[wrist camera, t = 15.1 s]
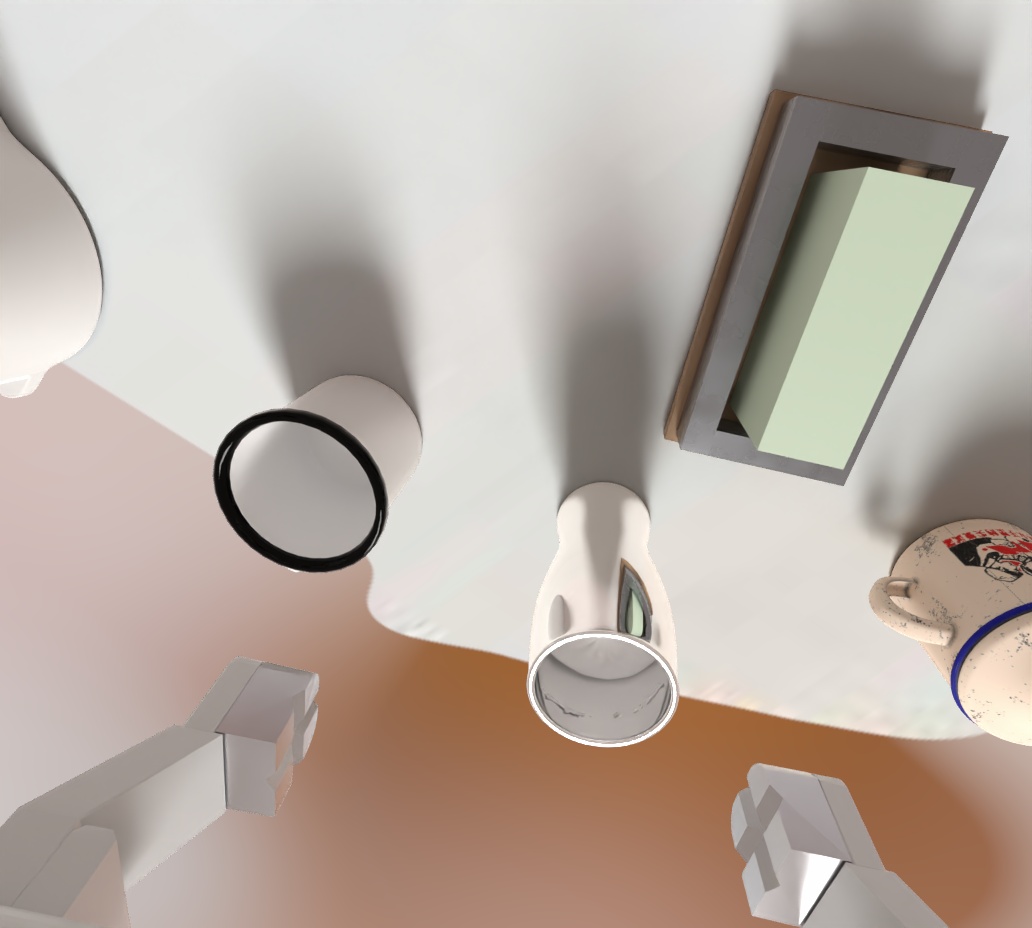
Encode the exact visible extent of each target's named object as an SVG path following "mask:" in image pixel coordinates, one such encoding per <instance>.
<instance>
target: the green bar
mask: <svg viewBox="0 0 1032 928" xmlns="http://www.w3.org/2000/svg"><path fill="white" fill-rule="evenodd" d="M974 189H975V188H972V187H967V186H962V185H957V184H952V183H947V182H942V181H937V180H932V179H927V178H922V177H917V176H912V175H907V174H902V173H897V172H892V171H887V170H882V169H877V168H872V167H863V168H855V169H847V170H839V171H831V172H822V173H814V174H811V177H810V179H809V182H808V185H807V188H806V191H805V193H804V196H803V199H802V202H801V205H800V207H799V210H798V213H797V216H796V219H795V221H794V224H793V227H792V230H791V232H790V235H789V238H788V241H787V244H786V246H785V249H784V252H783V255H782V258H781V260H780V263H779V266H778V269H777V272H776V274H775V277H774V280H773V283H772V286H771V288H770V291H769V294H768V297H767V300H766V302H765V305H764V308H763V311H762V313H761V316H760V319H759V322H758V325H757V327H756V330H755V333H754V336H753V339H752V341H751V344H750V347H749V350H748V353H747V355H746V358H745V361H744V364H743V367H742V369H741V372H740V375H739V378H738V381H737V383H736V386H735V389H734V392H733V394H732V397H731V400H730V403H729V404H730V406H731V407H732V409H733V411H734V412H735V414H736V416H737V417H738V419H739V421H740V422H741V424H742V426H743V427H744V429H745V431H746V432H747V434H748V436H749V437H750V439H751V441H752V442H753V444H754V446H755V447H756V449H757V450H758V451H763V452H767V453H771V454H776V455H780V456H785V457H789V458H794V459H798V460H803V461H807V462H812V463H816V464H821V465H825V466H829V467H834V468H838V469H844V467H845V465H846V463H847V461H848V459H849V456H850V454H851V452H852V450H853V448H854V446H855V444H856V442H857V439H858V437H859V435H860V433H861V431H862V429H863V427H864V424H865V422H866V420H867V418H868V416H869V414H870V412H871V409H872V407H873V405H874V403H875V401H876V399H877V397H878V394H879V392H880V390H881V388H882V386H883V384H884V382H885V379H886V377H887V375H888V373H889V371H890V369H891V367H892V364H893V362H894V360H895V358H896V356H897V354H898V352H899V350H900V347H901V345H902V343H903V341H904V339H905V337H906V335H907V332H908V330H909V328H910V326H911V324H912V322H913V320H914V317H915V315H916V313H917V311H918V309H919V307H920V305H921V302H922V300H923V298H924V296H925V294H926V292H927V290H928V287H929V285H930V283H931V281H932V279H933V277H934V275H935V272H936V270H937V268H938V266H939V264H940V262H941V260H942V258H943V255H944V253H945V251H946V249H947V247H948V245H949V243H950V240H951V238H952V236H953V234H954V232H955V230H956V228H957V225H958V223H959V221H960V219H961V217H962V215H963V213H964V210H965V208H966V206H967V204H968V202H969V200H970V198H971V195H972V193H973V191H974Z"/></svg>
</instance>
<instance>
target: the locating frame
mask: <svg viewBox="0 0 1032 928" xmlns="http://www.w3.org/2000/svg"><path fill="white" fill-rule="evenodd" d="M1008 138H1009V137H1008V136H1003V135H998V134H993V133H992V132H991V131H986V130H981V129H976V128H971V127H966V126H960V125H955V124H950V123H945V122H940V121H935V120H930V119H924V118H919V117H914V116H909V115H904V114H899V113H894V112H889V111H883V110H878V109H873V108H868V107H863V106H858V105H853V104H847V103H842V102H837V101H832V100H827V99H822V98H817V97H811V96H806V95H801V94H796V93H791V92H786V91H781V90H774V91H773V92H771V93H770V96H769V99H768V102H767V106H766V109H765V112H764V115H763V118H762V121H761V125H760V128H759V131H758V134H757V137H756V141H755V144H754V147H753V150H752V153H751V156H750V160H749V163H748V166H747V169H746V172H745V175H744V179H743V182H742V185H741V188H740V191H739V195H738V198H737V201H736V204H735V207H734V210H733V214H732V217H731V220H730V223H729V226H728V229H727V233H726V236H725V239H724V242H723V245H722V249H721V252H720V255H719V258H718V261H717V264H716V268H715V271H714V274H713V277H712V280H711V283H710V287H709V290H708V293H707V296H706V299H705V303H704V306H703V309H702V312H701V315H700V318H699V322H698V325H697V328H696V331H695V334H694V337H693V341H692V344H691V347H690V350H689V353H688V357H687V360H686V363H685V366H684V369H683V372H682V376H681V379H680V382H679V385H678V388H677V391H676V395H675V398H674V401H673V404H672V407H671V411H670V414H669V417H668V420H667V423H666V426H665V430H664V438H665V439H667V440H671V441H676V442H678V443H679V446H680V449H681V450H686V451H690V452H695V453H699V454H704V455H708V456H713V457H717V458H721V459H726V460H730V461H735V462H739V463H744V464H748V465H753V466H757V467H761V468H766V469H770V470H775V471H779V472H784V473H788V474H793V475H797V476H801V477H806V478H810V479H815V480H819V481H824V482H828V483H833V484H837V485H841V486H844V484H845V482H846V480H847V478H848V476H849V474H850V471H851V469H852V467H853V465H854V463H855V461H856V459H857V457H858V455H859V452H860V450H861V448H862V446H863V444H864V442H865V440H866V438H867V436H868V433H869V431H870V429H871V427H872V425H873V423H874V421H875V419H876V417H877V414H878V412H879V410H880V408H881V406H882V404H883V402H884V400H885V398H886V395H887V393H888V391H889V389H890V387H891V385H892V383H893V381H894V378H895V376H896V374H897V372H898V370H899V368H900V366H901V364H902V362H903V359H904V357H905V355H906V353H907V351H908V349H909V347H910V345H911V343H912V340H913V338H914V336H915V334H916V332H917V330H918V328H919V326H920V324H921V321H922V319H923V317H924V315H925V313H926V311H927V309H928V307H929V304H930V302H931V300H932V298H933V296H934V294H935V292H936V290H937V288H938V285H939V283H940V281H941V279H942V277H943V275H944V273H945V271H946V269H947V266H948V264H949V262H950V260H951V258H952V256H953V254H954V252H955V250H956V247H957V245H958V243H959V241H960V239H961V237H962V235H963V233H964V231H965V228H966V226H967V224H968V222H969V220H970V218H971V216H972V214H973V211H974V209H975V207H976V205H977V203H978V201H979V199H980V197H981V195H982V192H983V190H984V188H985V186H986V184H987V182H988V180H989V178H990V176H991V173H992V171H993V169H994V167H995V165H996V163H997V161H998V159H999V157H1000V154H1001V152H1002V150H1003V148H1004V146H1005V144H1006V142H1007V140H1008ZM863 167H872V168H877V169H882V170H887V171H892V172H897V173H902V174H907V175H912V176H917V177H922V178H927V179H932V180H937V181H942V182H947V183H952V184H957V185H962V186H967V187H972V188H975V189H974V191H973V193H972V195H971V198H970V200H969V202H968V204H967V206H966V208H965V210H964V213H963V215H962V217H961V219H960V221H959V223H958V225H957V228H956V230H955V232H954V234H953V236H952V238H951V240H950V243H949V245H948V247H947V249H946V251H945V253H944V255H943V258H942V260H941V262H940V264H939V266H938V268H937V270H936V272H935V275H934V277H933V279H932V281H931V283H930V285H929V287H928V290H927V292H926V294H925V296H924V298H923V300H922V302H921V305H920V307H919V309H918V311H917V313H916V315H915V317H914V320H913V322H912V324H911V326H910V328H909V330H908V332H907V335H906V337H905V339H904V341H903V343H902V345H901V347H900V350H899V352H898V354H897V356H896V358H895V360H894V362H893V364H892V367H891V369H890V371H889V373H888V375H887V377H886V379H885V382H884V384H883V386H882V388H881V390H880V392H879V394H878V397H877V399H876V401H875V403H874V405H873V407H872V409H871V412H870V414H869V416H868V418H867V420H866V422H865V424H864V427H863V429H862V431H861V433H860V435H859V437H858V439H857V442H856V444H855V446H854V448H853V450H852V452H851V454H850V456H849V459H848V461H847V463H846V465H845V467H844V469H838V468H834V467H829V466H825V465H821V464H816V463H812V462H807V461H803V460H798V459H794V458H789V457H785V456H780V455H776V454H771V453H767V452H763V451H758V450H757V449H756V447H755V446H754V444H753V442H752V441H751V439H750V437H749V436H748V434H747V432H746V431H745V429H744V427H743V426H742V424H741V422H740V421H739V419H738V417H737V416H736V414H735V412H734V411H733V409H732V407H731V406H730V404H729V403H730V400H731V397H732V394H733V392H734V389H735V386H736V383H737V381H738V378H739V375H740V372H741V369H742V367H743V364H744V361H745V358H746V355H747V353H748V350H749V347H750V344H751V341H752V339H753V336H754V333H755V330H756V327H757V325H758V322H759V319H760V316H761V313H762V311H763V308H764V305H765V302H766V300H767V297H768V294H769V291H770V288H771V286H772V283H773V280H774V277H775V274H776V272H777V269H778V266H779V263H780V260H781V258H782V255H783V252H784V249H785V246H786V244H787V241H788V238H789V235H790V232H791V230H792V227H793V224H794V221H795V219H796V216H797V213H798V210H799V207H800V205H801V202H802V199H803V196H804V193H805V191H806V188H807V185H808V182H809V179H810V177H811V174H814V173H822V172H831V171H839V170H847V169H855V168H863Z"/></svg>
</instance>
